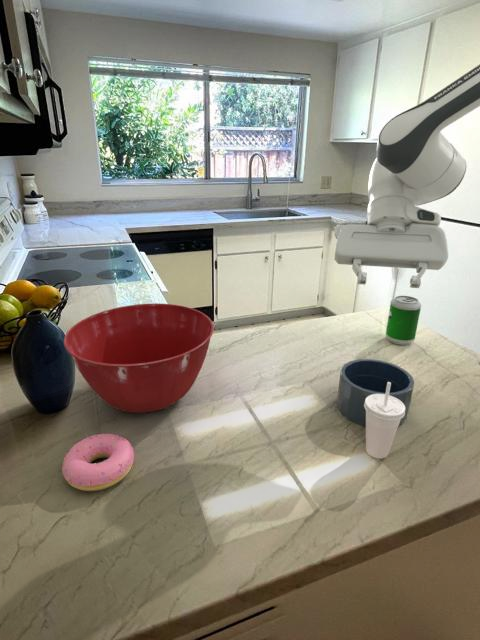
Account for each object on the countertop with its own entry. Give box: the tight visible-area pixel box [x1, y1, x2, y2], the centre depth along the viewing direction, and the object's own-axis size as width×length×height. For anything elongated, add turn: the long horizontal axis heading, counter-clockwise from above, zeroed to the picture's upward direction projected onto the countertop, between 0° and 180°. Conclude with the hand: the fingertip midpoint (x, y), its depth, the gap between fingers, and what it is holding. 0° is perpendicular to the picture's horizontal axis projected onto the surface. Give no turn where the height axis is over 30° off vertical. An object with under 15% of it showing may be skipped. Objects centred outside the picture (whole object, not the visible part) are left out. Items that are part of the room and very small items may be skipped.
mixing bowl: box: [63, 302, 215, 414], centre depth 82 cm, size 28×28×16 cm
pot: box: [336, 358, 415, 428], centre depth 80 cm, size 14×14×8 cm
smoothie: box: [364, 382, 405, 460], centre depth 67 cm, size 6×6×14 cm
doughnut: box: [61, 432, 135, 492], centre depth 64 cm, size 11×11×4 cm
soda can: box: [385, 295, 422, 346], centre depth 109 cm, size 8×8×12 cm
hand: (388, 284), depth 74 cm, fingers open, 8 cm apart
